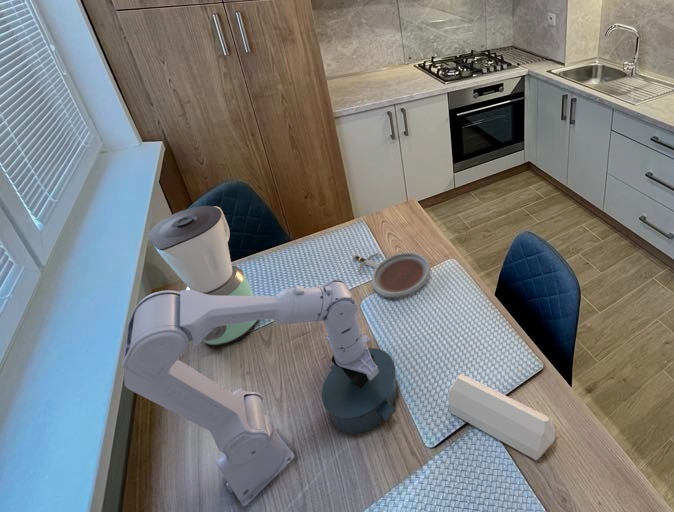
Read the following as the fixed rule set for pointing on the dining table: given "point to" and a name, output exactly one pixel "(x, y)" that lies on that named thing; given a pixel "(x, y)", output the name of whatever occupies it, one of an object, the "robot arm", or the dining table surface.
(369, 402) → the lid
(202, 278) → the blender
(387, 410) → the pot
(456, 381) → the beveled cream prism
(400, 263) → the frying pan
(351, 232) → the dining table surface
